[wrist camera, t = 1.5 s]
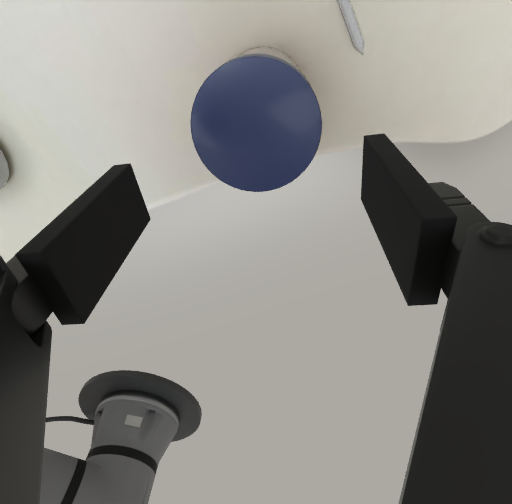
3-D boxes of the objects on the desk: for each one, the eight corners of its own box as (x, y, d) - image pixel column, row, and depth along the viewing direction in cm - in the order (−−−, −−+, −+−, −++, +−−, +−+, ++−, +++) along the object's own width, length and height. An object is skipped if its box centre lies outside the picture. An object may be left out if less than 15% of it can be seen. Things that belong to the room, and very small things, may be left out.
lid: (210, 186, 25) (206, 197, 24) (182, 64, 21) (175, 67, 19) (320, 174, 24) (323, 185, 23) (316, 43, 20) (319, 45, 18)
